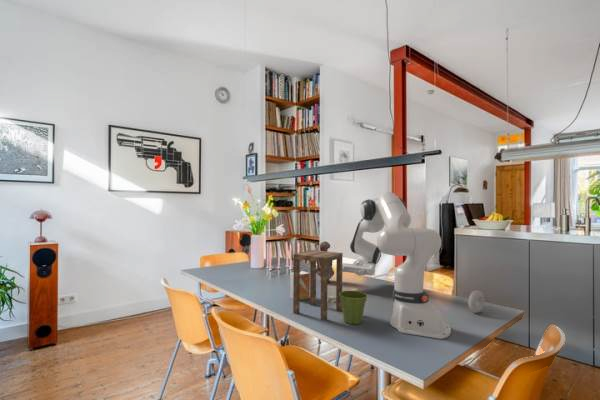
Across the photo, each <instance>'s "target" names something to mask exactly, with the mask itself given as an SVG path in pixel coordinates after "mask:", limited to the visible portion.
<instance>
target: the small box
mask: <svg viewBox="0 0 600 400" xmlns="http://www.w3.org/2000/svg"><path fill="white" fill-rule="evenodd" d="M289 274H290V275H289V277H290V280H289V281H290V282H289V283H290V284H289V289H290V290H289V295H290V296H289V298H290V299H292V300H293V280H294V271H293V272H290V273H289ZM307 299H308V300H310V272H306V271H305V270H300V301H302V300H307Z"/></svg>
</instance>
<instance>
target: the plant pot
mask: <svg viewBox="0 0 600 400" xmlns="http://www.w3.org/2000/svg"><path fill="white" fill-rule="evenodd" d="M339 295H340V298H341V302H342V315H343V316H342V317H343V322H344V323H346V324H349V325H352V324H354V325H360V324H361V323H362V321H363V317H364V316H363V315H364V311H365V306H366V305H365V304H366V302H367V298H368V297H369V295H368V294H367V293H365V292H363V291H361V292H360V291H349V290H342V292H340V293H339Z"/></svg>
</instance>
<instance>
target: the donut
mask: <svg viewBox="0 0 600 400" xmlns="http://www.w3.org/2000/svg"><path fill="white" fill-rule="evenodd" d="M467 304H468V308H469V310H470V311H471V312H472V313H474V314H479V313H481V312H482V311H483V308H484V306H485V296H484V294H483V292H481V290H473V291H472V292H471V293H470V295H469V296H468V302H467Z"/></svg>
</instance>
